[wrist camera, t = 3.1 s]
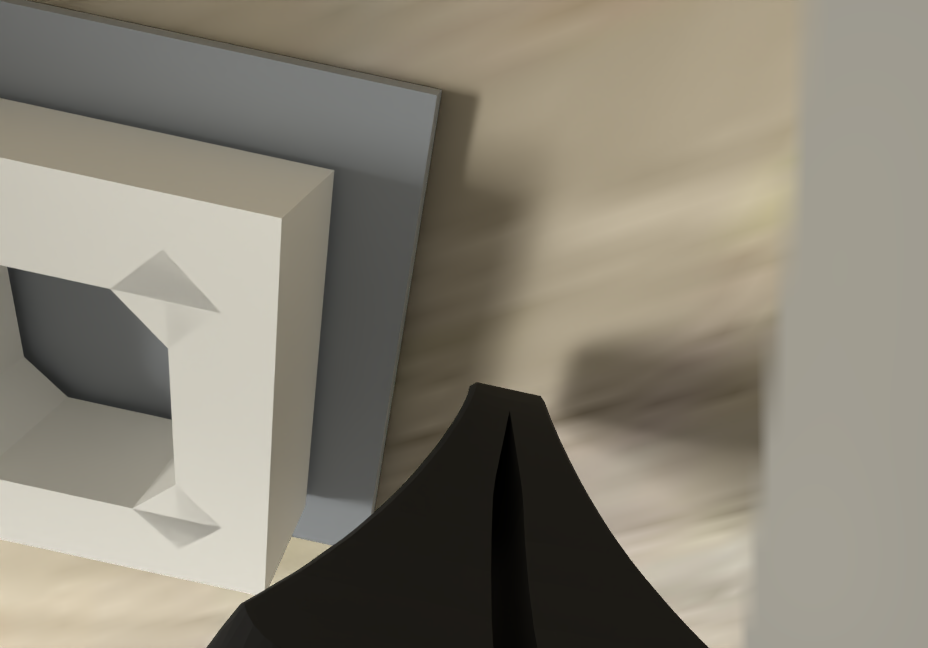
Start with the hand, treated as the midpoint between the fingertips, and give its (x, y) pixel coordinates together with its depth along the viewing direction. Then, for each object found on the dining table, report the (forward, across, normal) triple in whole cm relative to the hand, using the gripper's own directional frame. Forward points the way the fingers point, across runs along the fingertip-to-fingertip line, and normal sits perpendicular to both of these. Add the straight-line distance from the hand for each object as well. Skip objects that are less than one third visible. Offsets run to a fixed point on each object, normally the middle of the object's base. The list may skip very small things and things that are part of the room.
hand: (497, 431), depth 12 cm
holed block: (+1, +8, 0) cm, 8 cm away
